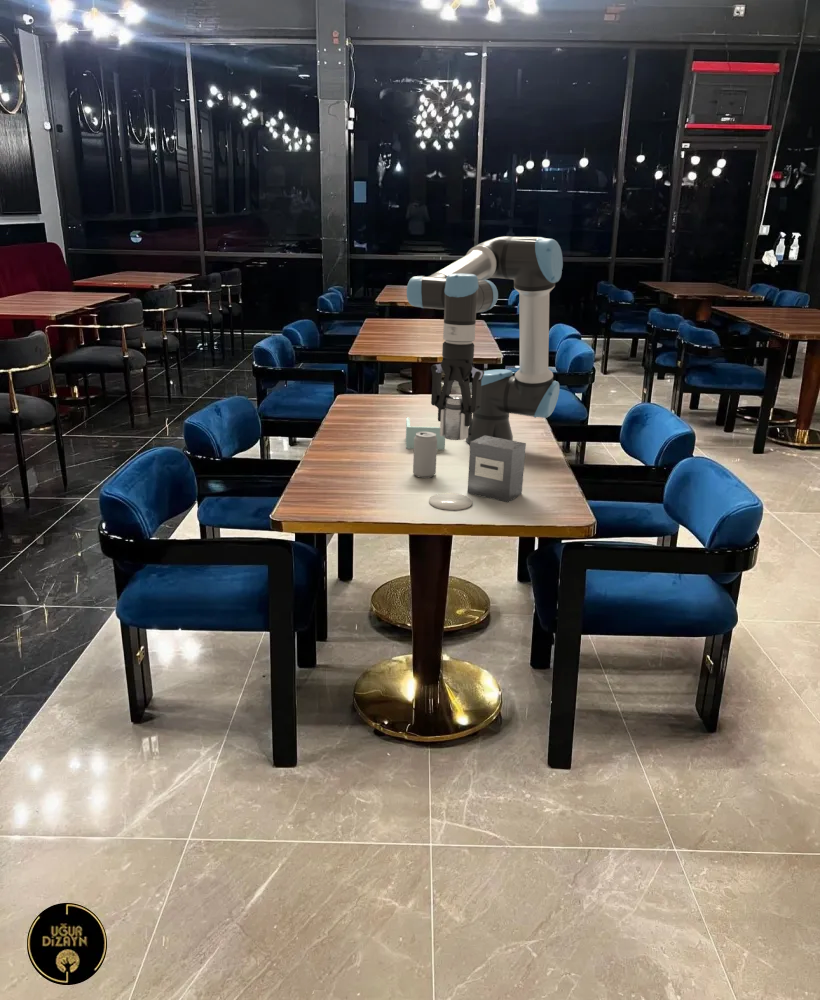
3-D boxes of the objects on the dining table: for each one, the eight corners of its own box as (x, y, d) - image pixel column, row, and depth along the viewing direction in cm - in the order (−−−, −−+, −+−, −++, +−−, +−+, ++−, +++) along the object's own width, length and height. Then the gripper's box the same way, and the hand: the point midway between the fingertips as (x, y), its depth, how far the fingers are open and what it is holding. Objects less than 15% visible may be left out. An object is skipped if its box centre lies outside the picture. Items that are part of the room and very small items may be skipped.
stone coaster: (442, 492, 206) (442, 490, 206) (479, 501, 200) (479, 498, 200) (420, 504, 197) (420, 501, 197) (458, 513, 192) (459, 511, 191)
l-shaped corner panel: (444, 451, 244) (445, 427, 241) (406, 450, 243) (406, 427, 241) (442, 440, 255) (443, 418, 252) (405, 439, 255) (406, 417, 252)
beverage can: (422, 470, 223) (423, 429, 219) (440, 475, 219) (442, 433, 215) (408, 475, 219) (409, 433, 214) (426, 480, 215) (427, 438, 211)
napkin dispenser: (481, 485, 212) (484, 435, 207) (521, 494, 206) (525, 443, 201) (466, 493, 205) (469, 442, 201) (507, 503, 200) (511, 450, 195)
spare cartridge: (449, 433, 196) (451, 394, 193) (468, 436, 194) (470, 397, 190) (439, 437, 192) (441, 398, 188) (458, 441, 190) (460, 401, 186)
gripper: (418, 339, 186) (414, 433, 194) (485, 347, 177) (479, 446, 185) (434, 335, 192) (430, 427, 200) (499, 343, 183) (493, 439, 191)
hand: (453, 436), depth 193 cm, fingers closed on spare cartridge, 5 cm apart
